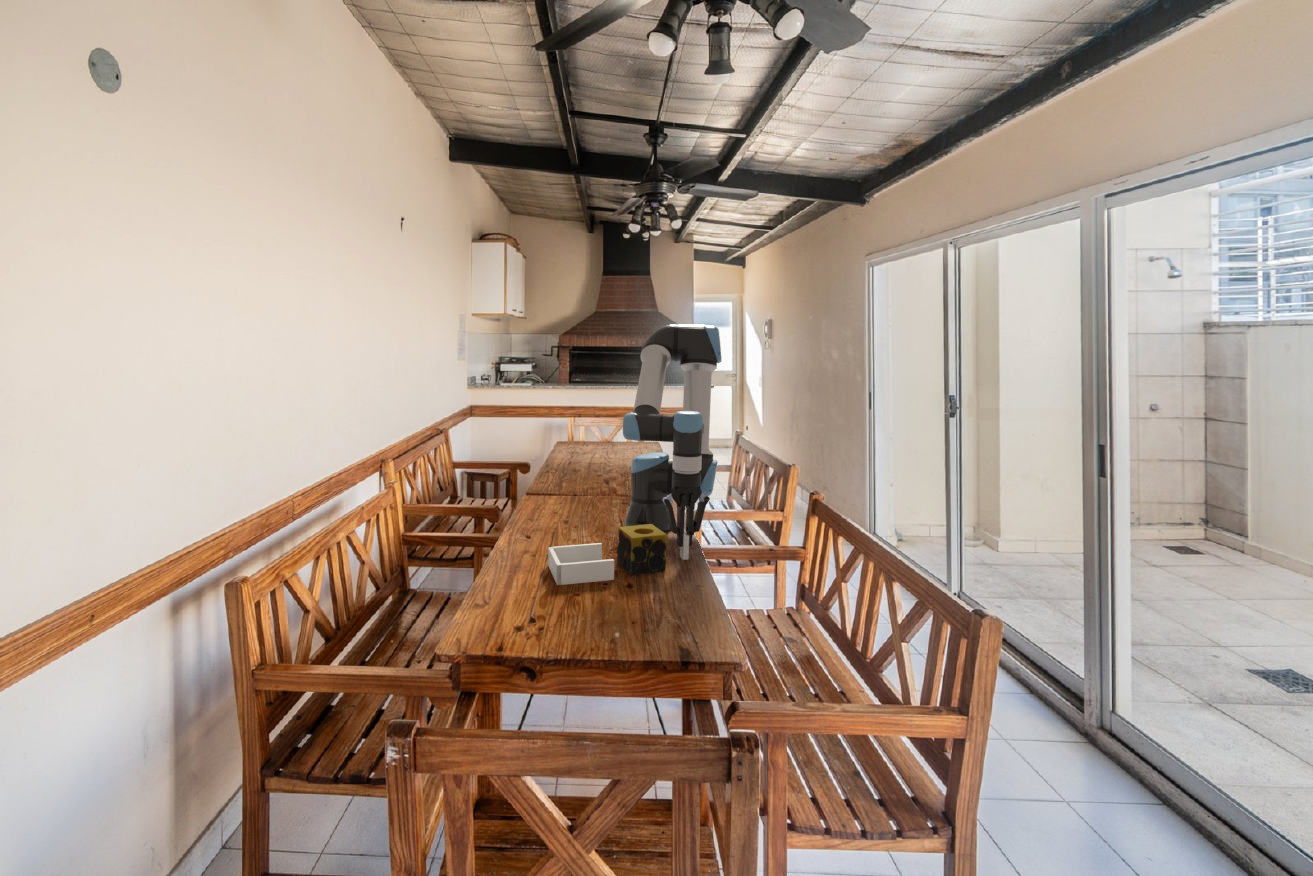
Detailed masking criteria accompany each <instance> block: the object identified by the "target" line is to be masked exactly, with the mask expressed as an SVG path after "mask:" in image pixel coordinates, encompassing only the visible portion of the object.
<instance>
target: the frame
mask: <svg viewBox="0 0 1313 876" xmlns="http://www.w3.org/2000/svg"><path fill="white" fill-rule="evenodd" d="M547 548H548V549H547V551H548V552H547V557H548V558H547V559H548V560H547V564H548V566H547V567H548V568H549V571H550V572H551V574H552V577H553V579H554V581H555V582H554V583H555V584H556V585H557V586H564V585H574V584H575V585H576V584H584V583H592V582H593V583H594V582H595V583H596V582H605V581H614V580H615V560H614V558H611V559H610V558H608V559H603V543H602V542H598V543H597V542H595V543H584V544H583V543H582V544H572V545H571V544H569V545H558V546H557V545H556V546H548V547H547Z"/></svg>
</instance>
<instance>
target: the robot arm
mask: <svg viewBox="0 0 1313 876" xmlns="http://www.w3.org/2000/svg"><path fill="white" fill-rule="evenodd" d="M721 350H722V348H721V337H720V331H719V328H718V327H717V326H716V325H707V324H675V323H673V324H667V325H663V326H661V327H659V328H657V329H656V330H655V331H654V332H652V333H651V334H650V335H649V336H648V337H647V338H646V340H645V341H644V343H643V345H642V348H641V350H640V361H641V368H640V372H639V373H640V374H639V378H638V384H637V389H636V394H635V400H634V407H633V410H632V411H633V412H628V413H625V414H624V416H623V420H622V436H623V438H624V440H629V441H636V442H637V441H638V442H664V443H665V442H667V443H668V442H669V443H672V444H673V445H672V448H673V449H672V457H671V458H670V455H669V453H668V452H659V451H658V452H656V451H655V452H648V453H642V454H639V455H635V457H634V458H633V459H632V461H631V467H630V469H631V470H630V474H631V477H630V479H631V480H630V491H631V492H630V503H629V507H628V509H627V513H626V515H625V518H624V526H636V525H647V524H653V525H654V526H655V527H657V528H658V529H660V530H661V531H662V532H664V533H665V532H666V531H669V530H670V531H671V533H673V534H674V535H676V545H677V546H678V548H679V557H680V558H681V559H682V560H689V557H690V556H689V554H690V553H689V552H690V547H692V545H693V536H694V534H695V533H698V532H700V529H701V526H702V522H703V518H704V515H705V510H706V506H707V504H709V501H710V499H711V497H710V496H711V495H712V494H713V491H714V485H715V481H716V480H715V479H716V474H717V468H718V460H716V459H715V458H714V453H713V452H712V451H711V450H710V447H709V446H710V444H709V443H710V422H711V421H710V420H711V398H712V397H711V396H712V374H713V372H714V371H716V369H718V368H717V366H718V364H720V363H722V351H721ZM671 362H679V368H680V369H681V370H682V371H683V372H684V376H683V377H684V378H683V398H682V399H683V401H682V402H683V403H682V410H680V411H676V412H675V413H674V414H665V413H664V414H663V413H661V409H662V408H661V407H662V401H663V394H664V389H665V379H666V373H667V368H668V366H669V365H670V363H671ZM673 501H674V502H675V504H676V509H677V510H676V511H677V512H676V515H675V512H674V508H673V507H674V506H673V505H672V504H673ZM697 502H698V503H697ZM696 503H697V508H696V510H695V507H696V506H695V505H696ZM675 516H676V517H675Z"/></svg>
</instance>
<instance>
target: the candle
mask: <svg viewBox="0 0 1313 876" xmlns="http://www.w3.org/2000/svg"><path fill="white" fill-rule="evenodd" d="M617 534H618V535H617V537H618V545H617V550H616V554H617V555H616V556H617V557H616V563H617V564H618V565H619V566H620V568H622V570H624V571H625V572H627V573H628V574H629V575H630V576H637V575H644V574H652V573H658V572H659V573H660V572H665V571H666V566H667V565H666V564H667V559H666V556H667V555H666V554H667V551H666V550H667V543H668V542H667V541H668V534H667V533H665V531H664V532H662V531H661V530H660V529H658V528H657V527H655V526H654V525H653V524H647V525H636V526H625V525H624V526H618V528H617Z"/></svg>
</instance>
